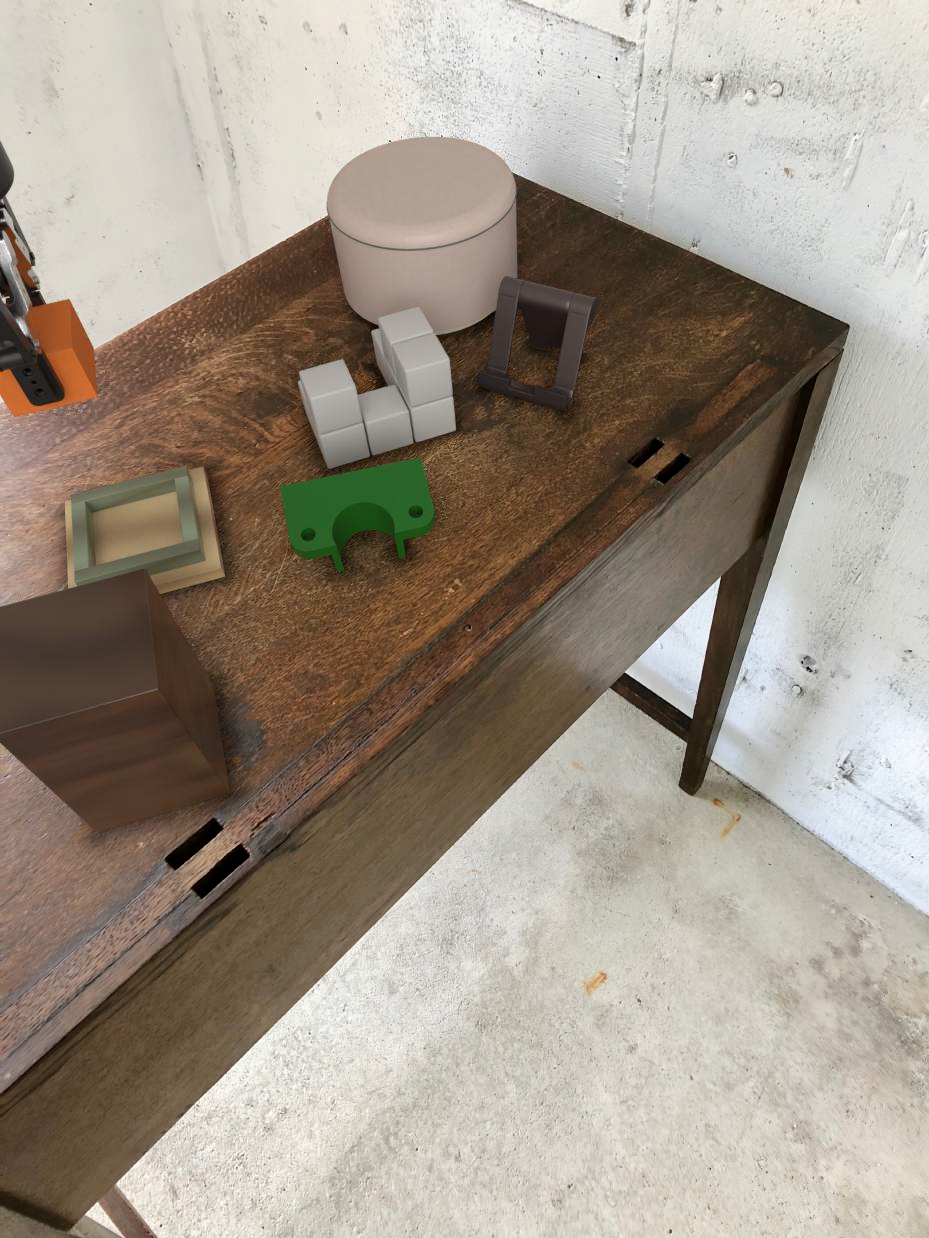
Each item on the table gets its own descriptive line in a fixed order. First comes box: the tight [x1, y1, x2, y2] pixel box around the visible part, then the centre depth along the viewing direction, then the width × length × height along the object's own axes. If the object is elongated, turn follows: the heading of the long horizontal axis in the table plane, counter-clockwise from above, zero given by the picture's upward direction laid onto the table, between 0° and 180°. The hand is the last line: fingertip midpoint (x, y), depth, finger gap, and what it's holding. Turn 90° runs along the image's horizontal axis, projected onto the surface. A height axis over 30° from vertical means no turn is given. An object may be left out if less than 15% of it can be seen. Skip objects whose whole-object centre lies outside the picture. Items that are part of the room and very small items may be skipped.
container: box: [326, 136, 518, 336], centre depth 86 cm, size 18×18×12 cm
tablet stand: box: [478, 276, 599, 413], centre depth 78 cm, size 9×8×8 cm
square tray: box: [64, 465, 226, 595], centre depth 72 cm, size 12×12×3 cm
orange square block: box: [0, 298, 99, 418], centre depth 58 cm, size 6×6×4 cm
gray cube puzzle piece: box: [297, 307, 457, 470], centre depth 78 cm, size 12×12×8 cm
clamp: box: [279, 457, 436, 573], centre depth 69 cm, size 12×6×9 cm, turn 97°
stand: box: [0, 569, 231, 834], centre depth 56 cm, size 9×9×14 cm
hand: (48, 370), depth 59 cm, fingers closed on orange square block, 5 cm apart
